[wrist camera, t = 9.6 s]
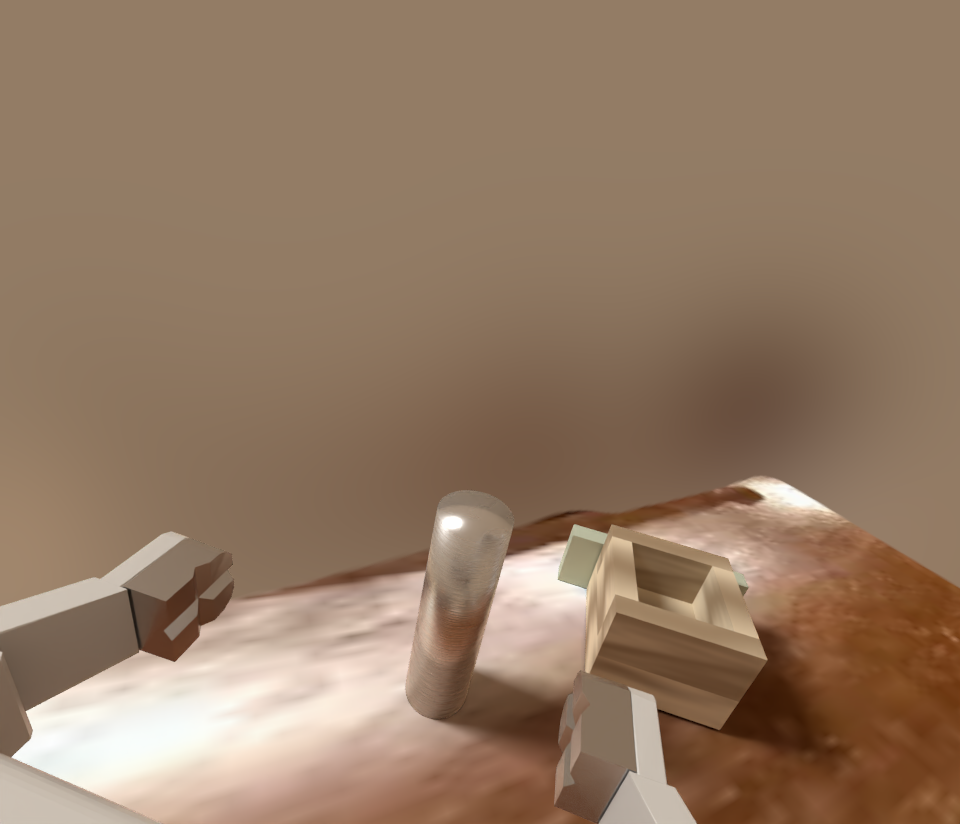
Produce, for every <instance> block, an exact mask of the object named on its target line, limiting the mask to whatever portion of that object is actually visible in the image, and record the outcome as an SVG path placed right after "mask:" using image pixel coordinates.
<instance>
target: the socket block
mask: <svg viewBox="0 0 960 824" xmlns="http://www.w3.org/2000/svg"><path fill="white" fill-rule="evenodd" d="M766 662H767V657H766V655H765V652H764V650H763V647H762V645H761V642H760V639H759V637H758V634H757V632H756V629H755V627H754V624H753V621H752V619H751V616H750V614H749V611H748V609H747V606H746V603H745V601H744V598H743V596H742V593H741V591H740V588H739V585H738V583H737V580H736V578H735V575H734V573H733V570H732V567H731V565H730V562H729V560H728V558H724V557H721V556H718V555H714V554H711V553H707V552H704V551H700V550H697V549H694V548H690V547H687V546H683V545H680V544H677V543H673V542H670V541H666V540H663V539H660V538H656V537H653V536H649V535H646V534H643V533H639V532H636V531H632V530H629V529H626V528H622V527H619V526H615V525H611V527H610V530H609V532H608V535H607V538H606V540H605V543H604V545H603V548H602V550H601V553H600V555H599V558H598V561H597V563H596V566H595V568H594V571H593V573H592V576H591V578H590V581H589V584H588V586H587V597H586V643H585V672H586V673H589V674H593V675H596V676H599V677H602V678H605V679H608V680H611V681H614V682H617V683H620V684H624V685H626V686H627V687H631V688H634V689H637V690H640V691H643V692H646V693H649V694H651V695H653V696H654V698H655V700H656V703H657V709H659V710H662V711H665V712H668V713H671V714H674V715H677V716H680V717H682V718H685V719H688V720H691V721H694V722H697V723H700V724H703V725H706V726H709V727H712V728H715V729H718V730H720V729H721V728H722V726H723V725H724V723H725V722H726V720H727V719H728V717H729V716H730V714H731V713H732V711H733V710H734V709H735V707H736V706H737V704H738V703H739V701H740V700H741V698H742V697H743V695H744V694H745V693H746V691H747V690H748V688H749V687H750V685H751V684H752V682H753V681H754V679H755V678H756V677H757V675H758V674H759V672H760V671H761V669H762V668H763V666H764V665H765V663H766Z"/></svg>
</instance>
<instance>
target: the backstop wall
mask: <svg viewBox="0 0 960 824" xmlns="http://www.w3.org/2000/svg"><path fill="white" fill-rule="evenodd" d="M607 535H608V534H605V533H602V532H599V531H595V530H592V529H588V528H585V527H582V526H578V525H575V524H574V526H573V529H572V532H571V534H570V537H569V540H568V543H567V546H566V549H565V552H564V555H563V557H562V560H561V563H560V566H559V572H558V580H561V581H564V582H567V583H570V584H574V585H577V586H580V587H583V588H586V589H587V586H588V584H589V581H590V578H591V576H592V573H593V571H594V568H595V566H596V563H597V561H598V558H599V555H600V553H601V550H602V548H603V545H604V543H605V540H606V538H607ZM733 573H734V575H735V578H736V580H737V583H738V585H739V588H740V591H741V593H742V596H744V594H745V593H746V591H747V589H748V585H747V583H746V580H745V578H744V576H743V574H740V573H737V572H733Z"/></svg>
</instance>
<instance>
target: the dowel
mask: <svg viewBox="0 0 960 824" xmlns="http://www.w3.org/2000/svg"><path fill="white" fill-rule="evenodd" d="M513 526H514V517H513V514H512V512H511V510H510V509H509V508H508V507H507V506H506V504H504V503H503V502H502V501H500V500H499V499H497V498H495V497H493V496H492V495H489V494H486V493H482V492H479V491H470V490H464V491H457V492H453V493H450V494H448V495H447V496H445V497H444V498H443V499H442V500H441V501H440V503H439V504H438V507H437V513H436V518H435V524H434V529H433V535H432V540H431V546H430V551H429V557H428V563H427V568H426V574H425V579H424V585H423V590H422V596H421V601H420V607H419V612H418V618H417V623H416V629H415V634H414V640H413V645H412V651H411V656H410V662H409V667H408V673H407V678H406V685H405V690H406V696H407V699H408V701H409V703H410V704H411V706H412V707H413V708H414V709H415V710H416V711H417V712H418V713H419V714H421V715H423V716H425V717H428V718H432V719H443V718H447V717H450V716H452V715H453V714H455V713H456V712H457V711H459V710H460V708H461V707H462V706H463V704H464V702H465V700H466V696H467V693H468V689H469V686H470V682H471V678H472V675H473V671H474V667H475V664H476V660H477V656H478V653H479V649H480V646H481V642H482V638H483V635H484V631H485V627H486V624H487V620H488V617H489V613H490V609H491V606H492V602H493V598H494V595H495V591H496V588H497V584H498V580H499V577H500V573H501V569H502V566H503V562H504V558H505V555H506V551H507V548H508V544H509V540H510V537H511V533H512V529H513Z"/></svg>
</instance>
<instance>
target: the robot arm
mask: <svg viewBox="0 0 960 824" xmlns="http://www.w3.org/2000/svg"><path fill="white" fill-rule="evenodd" d="M232 565H233V562H232V554H231V553H229V552H226V551H224V550H221V549H218V548H215V547H213V546H210V545H207V544H205V543H202V542H199V541H197V540H194V539H191V538H188V537H186V536H183V535H180V534H177V533H174V532H168V533H164V534H162V535H160V536H159V537H158V538H156V539H155V540H154V541H152V542H151V543H150V544H148V545H146V546H145V547H144V548H142V549H141V550H140V551H138V552H137V553H135V554H134V555H133V556H131V557H130V558H129V559H127V560H126V561H125V562H123V563H122V564H120V565H119V566H118V567H116V568H115V569H113V570H112V571H111V572H109V573H108V574H107V575H105V576H104V577H102V578H101V579H98V578H95V577H94V578H90V579H87V580H84V581H81V582H78V583H75V584H71V585H68V586H65V587H61V588H58V589H55V590H52V591H48V592H45V593H42V594H39V595H36V596H32V597H29V598H26V599H23V600H20V601H16V602H13V603H10V604H7V605H3V606H1V607H0V824H163V823H161V822H159V821H156V820H154V819H152V818H150V817H147V816H145V815H143V814H140V813H138V812H136V811H133V810H131V809H129V808H126V807H124V806H122V805H119V804H117V803H115V802H113V801H110V800H108V799H106V798H103V797H101V796H99V795H96V794H94V793H92V792H89V791H87V790H85V789H83V788H80V787H78V786H76V785H73V784H71V783H69V782H66V781H64V780H62V779H59V778H57V777H55V776H52V775H50V774H48V773H46V772H43V771H41V770H39V769H36V768H34V767H32V766H29V765H27V764H25V763H22V762H20V761H18V760H16V759H13V758H11V757H12V756H13V755H14V754H15V753H16V752H17V751H18V750H19V749H20V748H21V747H22V746H23V745H24V744H25V743H27V742H28V741H29V740H30V739H31V735H32V731H33V730H32V727H31V724H30V722H29V719H28V717H27V714H26V712H25V711H27V710H29V709H31V708H33V707H35V706H37V705H39V704H40V703H42V702H44V701H46V700H48V699H50V698H52V697H54V696H56V695H58V694H60V693H62V692H64V691H66V690H67V689H69V688H71V687H73V686H75V685H77V684H79V683H81V682H83V681H85V680H87V679H89V678H91V677H93V676H94V675H96V674H98V673H100V672H102V671H104V670H106V669H108V668H110V667H112V666H114V665H116V664H118V663H120V662H121V661H123V660H125V659H127V658H129V657H131V656H133V655H135V654H137V653H139V650H142V651H145V652H147V653H150V654H153V655H156V656H159V657H162V658H165V659H168V660H171V661H174V662H175V661H176V660H177V659H178V658H179V657H180V656H181V655H182V654H183V653H184V652H185V651H186V650H187V649H188V648H189V647H190V646H191V644H192V643H193V642H194V641H195V640H196V639H197V638H198V637H199V635H200V628H201V625H204V624H206V623H209V622H211V621H213V620H215V619H216V618H217V617H218V616H219V615H220V613H221V612H222V611H223V610H224V609H225V607H226V605H227V604H228V602H229V600H230V598H231V597H232V593H233V589H234V579H233V577H232V576H231V574H230V573H229V571H228V569H229V568H230V567H231V566H232ZM558 745H559V747H560V749H561V751H562V753H563V754H562V757H561V759H560V761H559V763H558V766H557V768H556V784H555V800H554V806H555V807H558V808H560V809H563V810H565V811H567V812H570V813H572V814H575V815H577V816H580V817H582V818H584V819H587V820H589V821H592V822H594V823H596V824H697V823H696V821H695V820H694V818H693V816H692V815H691V813H690V811H689V810H688V808H687V806H686V805H685V803H684V801H683V800H682V798H681V796H680V795H679V793H678V791H677V790H676V788H675V787H672V786H670V785H667V778H666V770H665V763H664V755H663V748H662V740H661V733H660V725H659V718H658V711H657V703H656V700H655V698H654V696H653V695H651V694H649V693H646V692H643V691H640V690H637V689H634V688H631V687H627V686H626V685H624V684H620V683H617V682H614V681H611V680H608V679H605V678H602V677H599V676H596V675H593V674H589V673H586V672H583V671H579V672H578V673H577V676H576V678H575V680H574V691H573V693H572V694H569V695H568V697H567V699H566V702H565V704H564V708H563V712H562V716H561V721H560V728H559V739H558Z"/></svg>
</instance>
